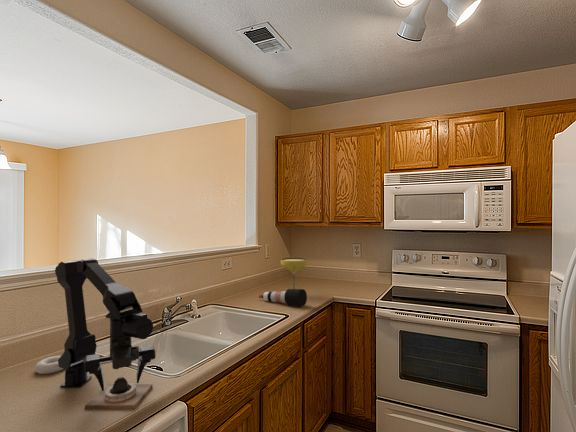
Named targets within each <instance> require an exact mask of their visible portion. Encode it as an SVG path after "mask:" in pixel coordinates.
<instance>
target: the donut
mask: <svg viewBox="0 0 576 432" xmlns="http://www.w3.org/2000/svg"><path fill="white" fill-rule="evenodd" d="M61 356H62V355H55V356H54V355H53V356H49V357H46V358H43V359H41V360H40V361H38V362H37V364H35V366H34V370H35V372H36V373H37V374H40V375H48V374H54V373H58V372H61V371H63V370H64V369H63V368H60V367H59V365H58V360H59V358H60V357H61Z"/></svg>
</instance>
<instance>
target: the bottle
mask: <svg viewBox="0 0 576 432" xmlns="http://www.w3.org/2000/svg"><path fill="white" fill-rule="evenodd" d="M258 298H259V299H263V300H264V301H265V302H270V303H271V302H272V303H277V304H280V303H283V304H286V306H292V307H295V306H296V307H304V306H306V304H307V301H308V295H307V291H306V290H305V288H304V289H302V288H301V289H300V288H294V289H293V288H288V289H286V291H284V290H283V291H282V290H281V291H279V290H277V291H265V292H264V293H263V294H259V295H258Z"/></svg>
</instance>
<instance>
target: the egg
mask: <svg viewBox="0 0 576 432" xmlns="http://www.w3.org/2000/svg"><path fill="white" fill-rule="evenodd" d="M128 382H129V381H127V379H126V378H125V377H123V376H119V377H117V378H116V379H115V381H114V383H113V384H114V385H113V393H114V394H121V393H125V392H127V390H128Z"/></svg>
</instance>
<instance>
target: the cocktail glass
mask: <svg viewBox="0 0 576 432" xmlns="http://www.w3.org/2000/svg"><path fill="white" fill-rule="evenodd" d="M307 262H308V260H307V259H306V258H300V257H289V258H288V257H287V258H281V259H280V265H281V266H282V267H283V269H286V270H287V271H289V272H291V274H292V276H293V277H292V278H293V282H292V283H293V284H292V285H293V286H292V287H293V288H292V289H295V274H297V272H298V271H300V270H301V269H302V270H303V268H305V267H306V266H307Z"/></svg>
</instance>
